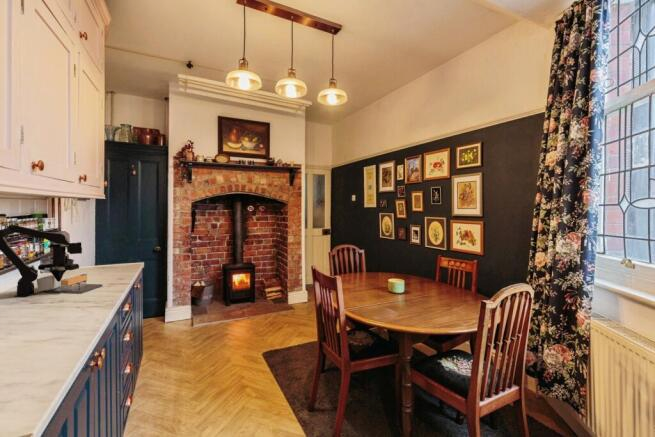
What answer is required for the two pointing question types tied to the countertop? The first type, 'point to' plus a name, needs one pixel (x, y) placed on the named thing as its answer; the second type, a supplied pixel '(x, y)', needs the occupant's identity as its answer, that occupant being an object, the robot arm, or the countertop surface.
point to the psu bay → (80, 290)
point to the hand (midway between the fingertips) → (58, 281)
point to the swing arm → (74, 280)
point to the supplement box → (48, 283)
